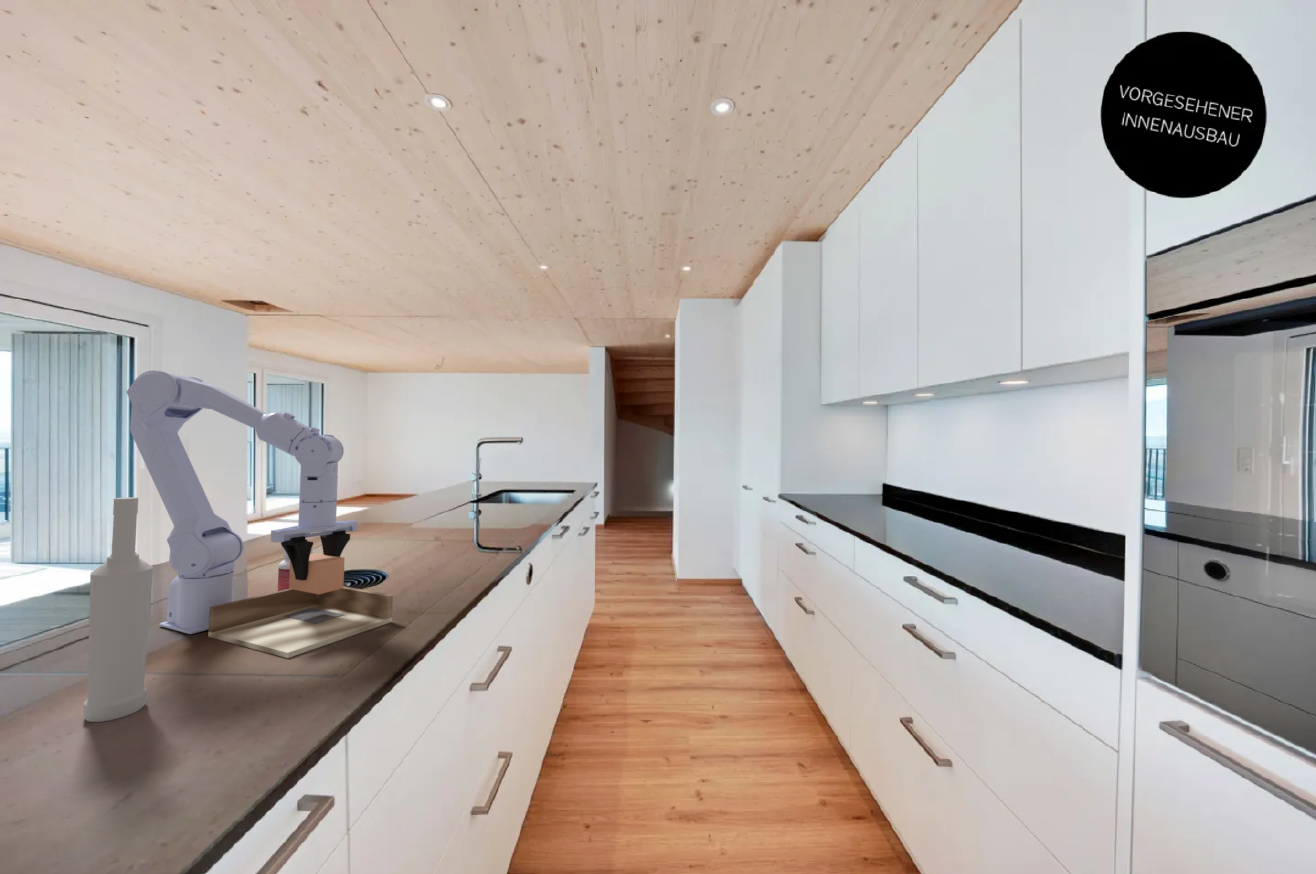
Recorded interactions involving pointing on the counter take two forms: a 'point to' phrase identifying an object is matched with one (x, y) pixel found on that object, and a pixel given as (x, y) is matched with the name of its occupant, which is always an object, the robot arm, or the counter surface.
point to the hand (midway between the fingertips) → (315, 576)
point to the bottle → (119, 623)
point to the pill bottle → (284, 573)
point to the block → (320, 575)
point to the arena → (298, 619)
